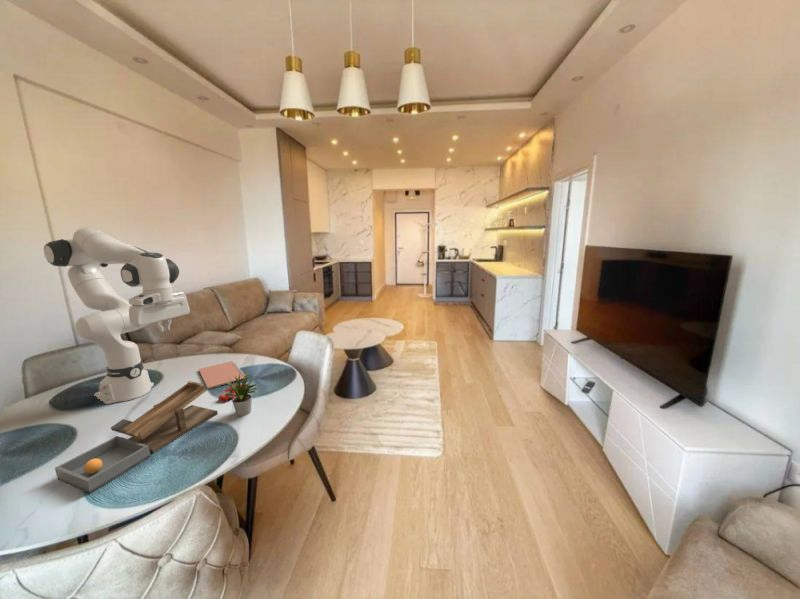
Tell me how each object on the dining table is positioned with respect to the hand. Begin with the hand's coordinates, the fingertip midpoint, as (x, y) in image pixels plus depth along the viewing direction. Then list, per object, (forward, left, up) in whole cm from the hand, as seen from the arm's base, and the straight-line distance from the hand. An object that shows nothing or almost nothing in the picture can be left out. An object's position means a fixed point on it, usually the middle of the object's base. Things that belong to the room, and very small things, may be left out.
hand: (164, 331), depth 123 cm
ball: (+12, -34, -30) cm, 47 cm away
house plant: (+28, +5, -33) cm, 44 cm away
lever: (+8, -11, -26) cm, 30 cm away
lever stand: (+12, -11, -33) cm, 37 cm away
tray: (+12, -31, -33) cm, 47 cm away
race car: (+12, +16, -34) cm, 39 cm away
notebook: (-10, +30, -34) cm, 46 cm away
